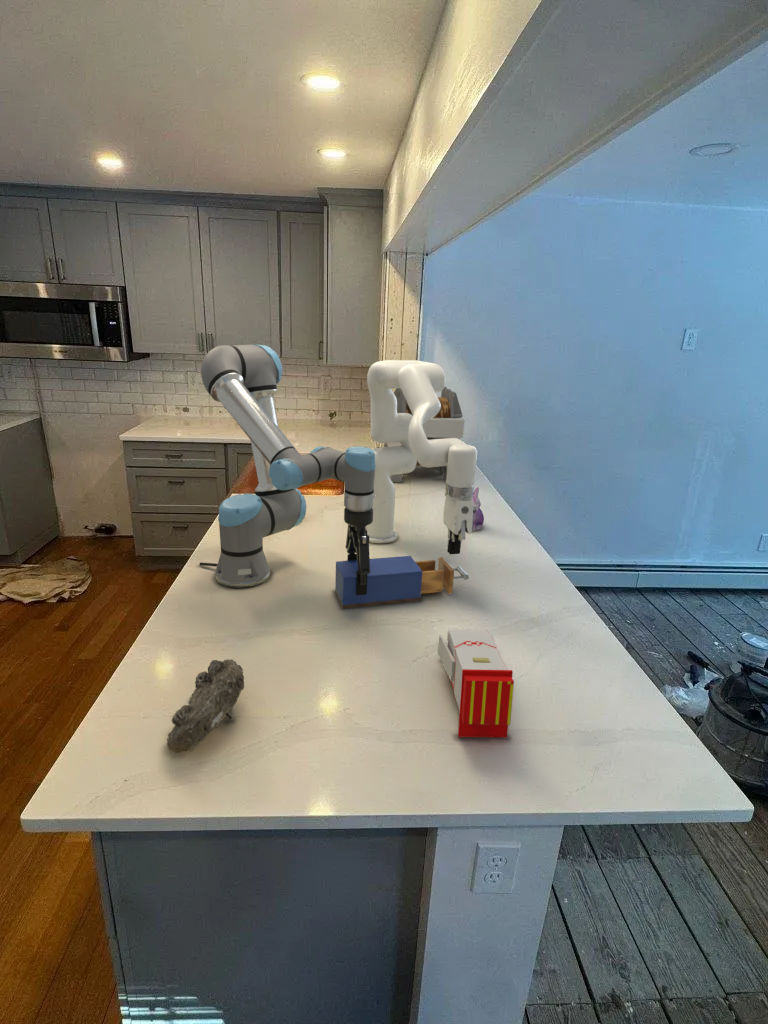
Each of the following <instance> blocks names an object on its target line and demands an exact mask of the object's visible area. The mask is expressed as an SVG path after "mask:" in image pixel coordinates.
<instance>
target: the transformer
mask: <svg viewBox="0 0 768 1024" xmlns="http://www.w3.org/2000/svg"><path fill="white" fill-rule="evenodd" d="M393 393H394V394H395V396H396V399H397V413H409V414H411V415H412V412H411V410H410V408H409V406H408V403H407V401H406V399H405V397H404V394H403V392H402V390H401V388H395V390H394V391H393ZM440 393H441V394H440V396H437V397H438V400H439V402H440V404H441V408H440V411H439V412H438V413H437V415H436V416H434V417H433V418H432V419H430V420H428V421H427V422H425V423H423V424H422V428H423V431H424V433H425V435H426V437H427V439H428V440H431V439H445V438H457V439H460V440H461V441H463V440H462V439H463V438H464V431H465V430H464V429H465V419H464V418H463V411H462V408H461V405H460V402H459V398H458V395H457V392H455V391H453V390H452V389H451V388H447V386H445V387H444V388H443V390H441V391H440ZM412 416H413V415H412ZM389 446H391V447H392V446H399V442H397V443H383V447H389ZM417 466H418V467H422V466H421V465H420V464H419V463H418V461H417V463H416V467H417ZM436 468H437V470H438V469H439V473H440V474H441V475H443V478H444V479H445V480H446V476H447V466H440V467H436ZM403 475H404V474H398V475H391V476H390V479H391V481H392V482H393V483H402V482H403Z"/></svg>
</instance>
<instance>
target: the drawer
mask: <svg viewBox="0 0 768 1024" xmlns="http://www.w3.org/2000/svg"><path fill="white" fill-rule="evenodd" d="M414 561H415V560H414ZM415 562H416V564H417V565H418V566H419V567H420V569H421V570H422V583H421V595H423V594H431V593H433V594H434V593H442V592H443V589H444V591H446V593H447V594H453V590H454V589H453V588H454V580H459V579H460V580H461V579H463V580H464V581H467V580H469V578H470V575H469V574H468V573H467V572H466V571H465V570H464V569H463V568H462V566H460V565H457V566H456V567H455V568H453V567H452V566H451V565H450V564H449V563H448V562H447V561H446V559H445V558H444V557H443V556H441V557H438V562H437V561H436V559H427V560H418V561H415ZM436 562H437V569H436ZM455 572H457V573H458V574H459V575H455Z"/></svg>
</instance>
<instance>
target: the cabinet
mask: <svg viewBox="0 0 768 1024" xmlns="http://www.w3.org/2000/svg"><path fill="white" fill-rule="evenodd" d="M356 571H358V566H357V560H350V561H347V560H338V561H335V584H334V585H335V587H334V589H335V590H334V591H335V593H336V596H337V598H338V600H339V603H340V605H341V608H342V609H343V610H344V609H353V608H355V609H356V608H363V607H375V606H382V605H383V606H384V605H393V604H401V603H403V604H404V603H411V602H412V603H413V602H420V601H421V595H422V594H421V583H422V570H421V569H420V567H419V566H418V565H417V564H416V562H415V560H414V558H413V556H411V555H402V556H390V557H377V558H376V557H375V558H370V574H367V594H365V595H356V578H357V574H356V573H355V572H356Z"/></svg>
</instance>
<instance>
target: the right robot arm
mask: <svg viewBox="0 0 768 1024" xmlns="http://www.w3.org/2000/svg"><path fill="white" fill-rule="evenodd" d="M366 383H367V389H368V394H369V399H370V423H369V424H370V437H371V440H372V441H373V442H374V443H376V444H384V443H397V442H399V446H392V447H391V446H389V447H384V446H380V447H375V448H371V449H372V450H373V451H374V453H375V465H376V468H375V477H374V494H375V495H376V497H375V498H373V507H372V509H373V522H372V523H371V524H369V525H367V526H366V527H365V529H366V530H367V535H369V537H370V538H369V543H373V544H389V543H393V542H395V541H397V540H398V537H399V534H398V532H397V531H396V530H395V528H394V527H395V510H396V509H395V508H396V507H395V506H396V485H395V484H394V482H392V481H391V479H390V476H391V475H398V474H403V475H404V474H406V475H407V474H409V473H412V472H413V471H415V469H416V467H417V466H416V463H417V461H418V463H419V464H420V465H421V466H420V467H423V468H427V469H429V468H437V467H440V466H447V476H446V479H445V490H444V496H445V500H444V506H443V518H442V520H443V525H445V526H446V528H447V538H448V540H447V550H446V551H447V553H448V555H450V556H451V555H452V556H453V555H459V554H461V547H462V541H465V540H466V534H468V535H471V534H472V532H473V531H472V522H473V502H472V498H473V492H474V490H475V481H476V480H475V479H476V470H477V460H478V450H477V448H476V447H475V446H474V445H471V444H467V443H465V442H464V441H463V440H462V439H461V438H460V439H461V440H462V441H461V440H460V439H457V438H445V439H431V440H428V439H427V437H426V435H425V433H424V431H423V428H422V424H423V423H425V422H427V421H428V420H430V419H432V418H433V417H434V416H436V415H437V413H438V412H439V411H440V408H441V404H440V402H439V400H438V397H439V396H438V395H437V393H439V392H442V390H443V388H444V387H446V384H447V376H446V372H445V370H444V369H443V367H442V366H440V364H437V363H434V362H428V361H424V360H417V359H415V360H413V359H410V360H409V359H386V360H378V361H375V362H374V363H372V364H371V365H370V367H369V369H368V370H367V376H366ZM396 388H401V390H402V392H403V394H404V397H405V399H406V401H407V403H408V406H409V408H410V410H411V412H412V415H413V416H412V415H411V414H409V413H397V399H396V396H395V394H394V391H393V390H392V389H396Z"/></svg>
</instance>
